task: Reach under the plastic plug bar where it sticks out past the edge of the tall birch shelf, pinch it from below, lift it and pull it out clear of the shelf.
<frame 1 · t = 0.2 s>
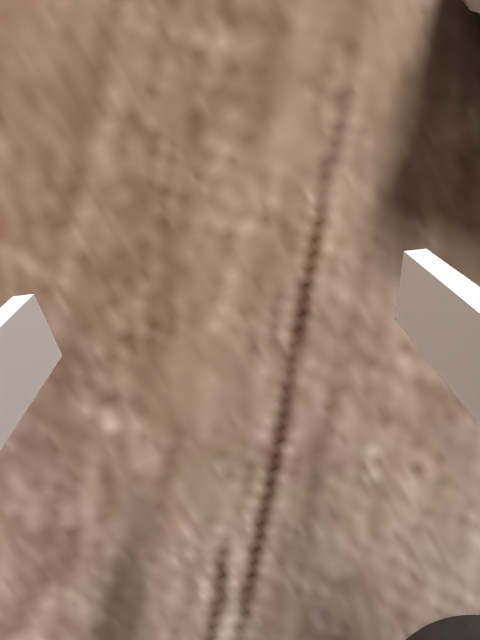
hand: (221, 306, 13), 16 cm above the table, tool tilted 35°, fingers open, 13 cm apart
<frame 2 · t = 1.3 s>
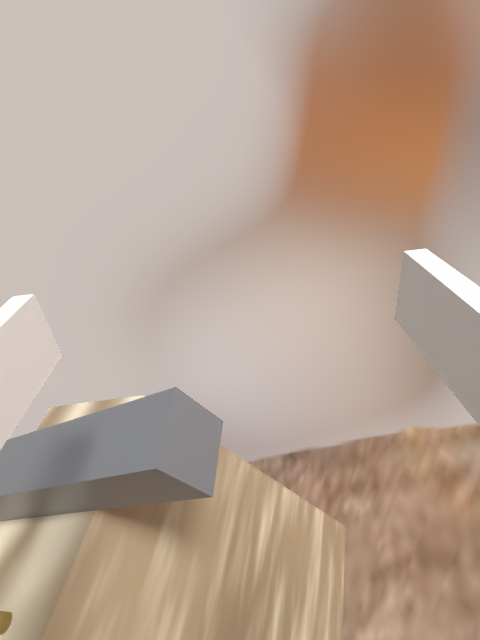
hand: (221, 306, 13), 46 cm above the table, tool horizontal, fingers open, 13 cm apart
plug bar: (65, 483, 25), point 38 cm above the table, touching shelf stand
shelf stand: (292, 587, 48), on the table
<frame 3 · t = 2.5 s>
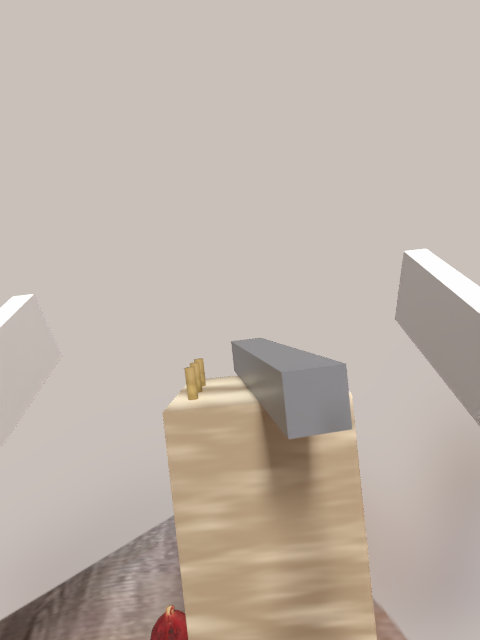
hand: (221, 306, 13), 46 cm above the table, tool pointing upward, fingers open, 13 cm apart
plug bar: (271, 389, 35), point 38 cm above the table, touching shelf stand
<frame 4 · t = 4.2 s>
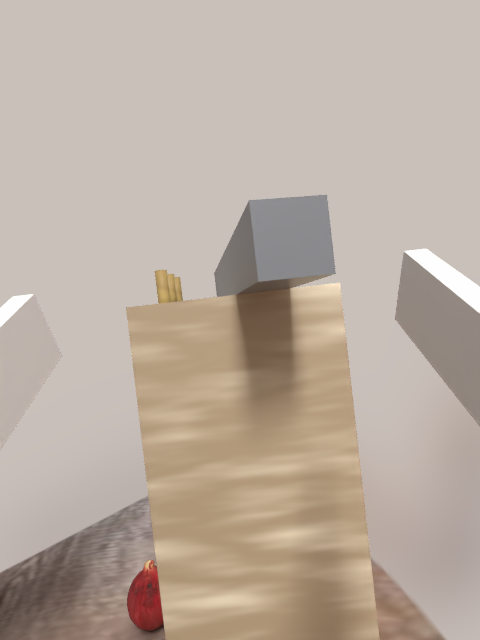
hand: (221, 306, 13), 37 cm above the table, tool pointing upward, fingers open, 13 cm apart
plug bar: (252, 296, 31), point 38 cm above the table, touching shelf stand
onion: (156, 629, 43), on the table
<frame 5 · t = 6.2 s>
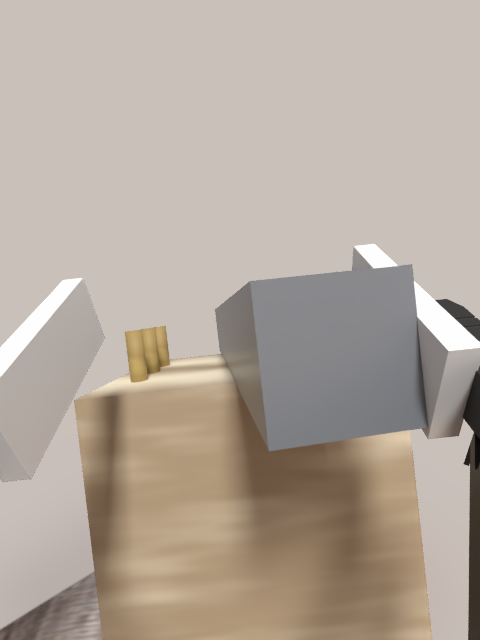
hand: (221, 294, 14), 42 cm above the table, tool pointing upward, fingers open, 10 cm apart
plug bar: (261, 365, 22), point 38 cm above the table, touching gripper, shelf stand
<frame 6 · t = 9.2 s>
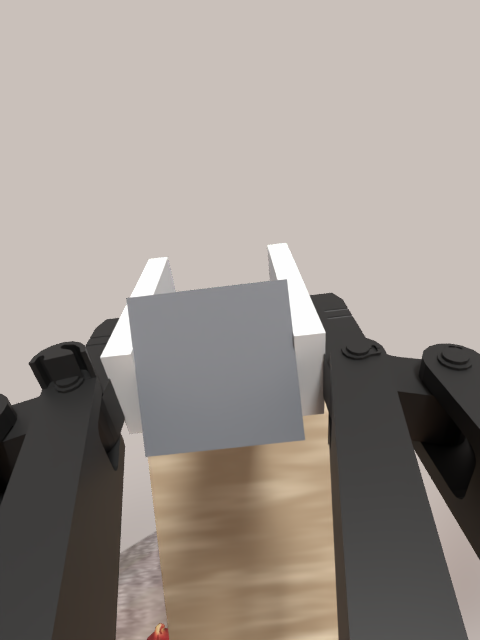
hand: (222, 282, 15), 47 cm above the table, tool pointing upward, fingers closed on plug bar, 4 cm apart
plug bar: (239, 366, 22), point 42 cm above the table, touching gripper
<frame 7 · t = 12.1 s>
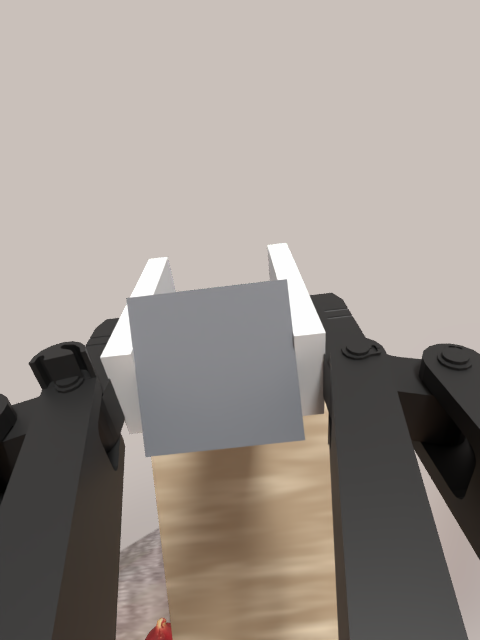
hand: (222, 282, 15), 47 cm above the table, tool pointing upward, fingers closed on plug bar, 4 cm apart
plug bar: (239, 366, 22), point 42 cm above the table, touching gripper
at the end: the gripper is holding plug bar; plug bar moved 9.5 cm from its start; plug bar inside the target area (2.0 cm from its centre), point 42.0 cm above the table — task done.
